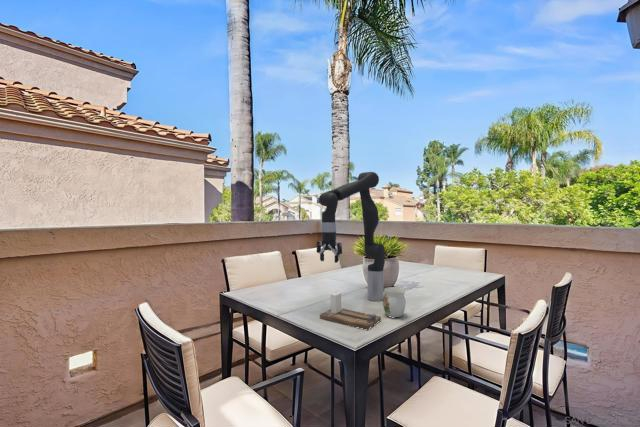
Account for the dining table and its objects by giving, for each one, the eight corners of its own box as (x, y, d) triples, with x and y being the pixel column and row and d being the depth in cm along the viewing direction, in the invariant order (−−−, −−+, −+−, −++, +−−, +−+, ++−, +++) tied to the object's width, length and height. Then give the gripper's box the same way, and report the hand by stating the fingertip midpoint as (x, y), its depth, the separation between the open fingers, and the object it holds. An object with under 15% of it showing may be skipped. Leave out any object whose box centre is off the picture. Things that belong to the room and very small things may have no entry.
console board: (334, 310, 164) (334, 303, 164) (380, 320, 150) (380, 312, 149) (319, 318, 153) (319, 310, 153) (367, 330, 138) (367, 321, 138)
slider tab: (336, 309, 159) (336, 292, 158) (341, 310, 157) (341, 293, 157) (330, 312, 155) (330, 294, 154) (335, 313, 153) (335, 295, 153)
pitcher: (394, 308, 168) (394, 283, 167) (412, 320, 150) (412, 292, 150) (375, 310, 165) (375, 284, 164) (392, 322, 147) (392, 293, 147)
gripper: (344, 230, 161) (344, 261, 162) (321, 229, 169) (321, 259, 170) (336, 232, 155) (337, 264, 156) (313, 231, 163) (314, 261, 164)
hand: (329, 261), depth 163 cm, fingers open, 8 cm apart
